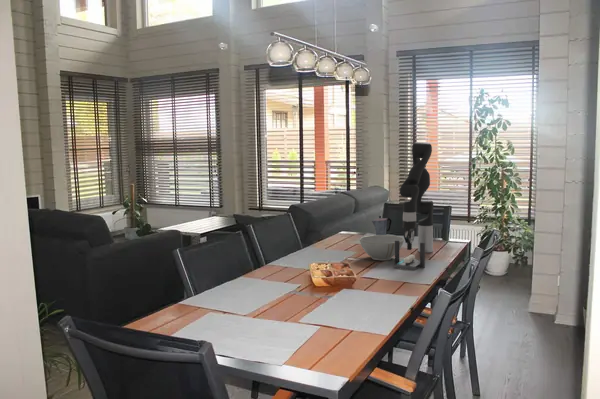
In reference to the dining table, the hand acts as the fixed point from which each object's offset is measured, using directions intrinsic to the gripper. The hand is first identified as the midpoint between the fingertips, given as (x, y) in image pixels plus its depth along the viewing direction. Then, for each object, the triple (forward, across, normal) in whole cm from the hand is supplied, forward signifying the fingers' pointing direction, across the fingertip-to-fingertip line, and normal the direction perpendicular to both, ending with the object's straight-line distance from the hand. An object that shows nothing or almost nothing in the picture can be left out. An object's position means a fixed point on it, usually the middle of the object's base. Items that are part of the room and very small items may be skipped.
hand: (409, 249), depth 293 cm
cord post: (+10, 0, +8) cm, 12 cm away
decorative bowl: (+10, -12, -22) cm, 27 cm away
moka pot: (+10, -54, -39) cm, 67 cm away
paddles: (+6, 0, 0) cm, 7 cm away
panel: (+10, 0, 0) cm, 10 cm away
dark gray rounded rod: (+10, 0, -8) cm, 12 cm away
